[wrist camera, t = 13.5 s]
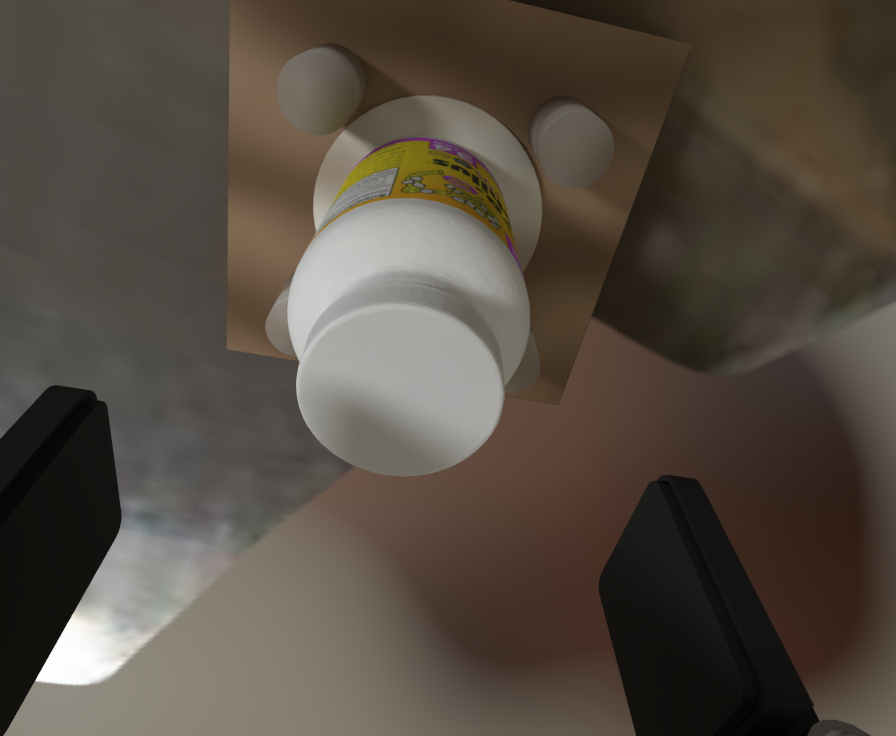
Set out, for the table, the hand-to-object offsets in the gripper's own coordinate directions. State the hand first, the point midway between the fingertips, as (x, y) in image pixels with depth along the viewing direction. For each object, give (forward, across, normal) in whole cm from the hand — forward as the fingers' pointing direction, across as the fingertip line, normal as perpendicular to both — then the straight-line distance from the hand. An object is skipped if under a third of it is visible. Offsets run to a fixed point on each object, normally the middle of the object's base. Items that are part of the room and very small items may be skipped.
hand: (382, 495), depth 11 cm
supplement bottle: (+16, 0, 0) cm, 16 cm away
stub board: (+18, -1, +1) cm, 18 cm away
